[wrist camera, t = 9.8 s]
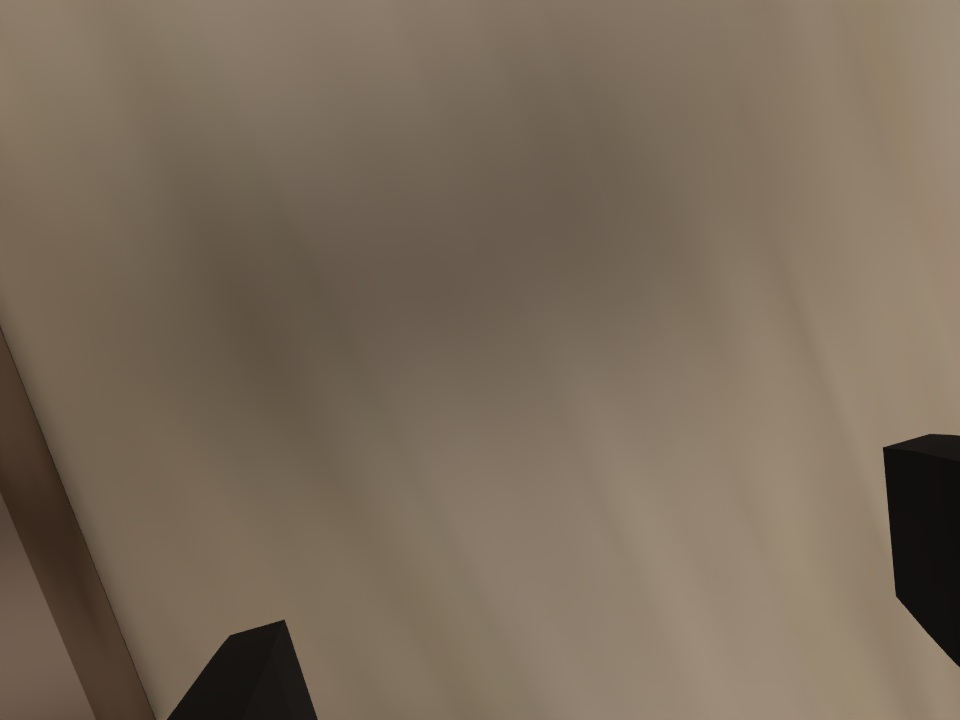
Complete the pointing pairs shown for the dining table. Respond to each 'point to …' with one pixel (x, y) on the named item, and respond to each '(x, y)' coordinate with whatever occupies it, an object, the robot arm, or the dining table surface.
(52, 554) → the walnut base
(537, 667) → the dining table surface
